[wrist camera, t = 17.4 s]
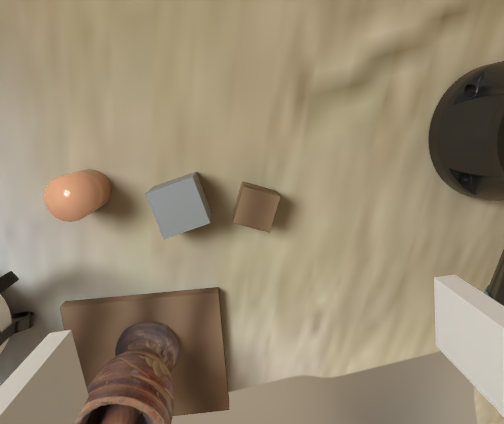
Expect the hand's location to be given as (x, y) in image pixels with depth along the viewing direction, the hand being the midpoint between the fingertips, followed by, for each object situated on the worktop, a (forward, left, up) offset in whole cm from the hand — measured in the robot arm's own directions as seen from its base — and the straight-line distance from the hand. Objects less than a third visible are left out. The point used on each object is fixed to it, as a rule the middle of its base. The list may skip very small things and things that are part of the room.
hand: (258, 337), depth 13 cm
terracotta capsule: (+16, -2, -30) cm, 34 cm away
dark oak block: (-2, +1, -30) cm, 30 cm away
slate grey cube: (+6, 0, -30) cm, 30 cm away
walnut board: (+12, +19, -30) cm, 37 cm away
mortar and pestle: (+12, +19, -28) cm, 36 cm away
